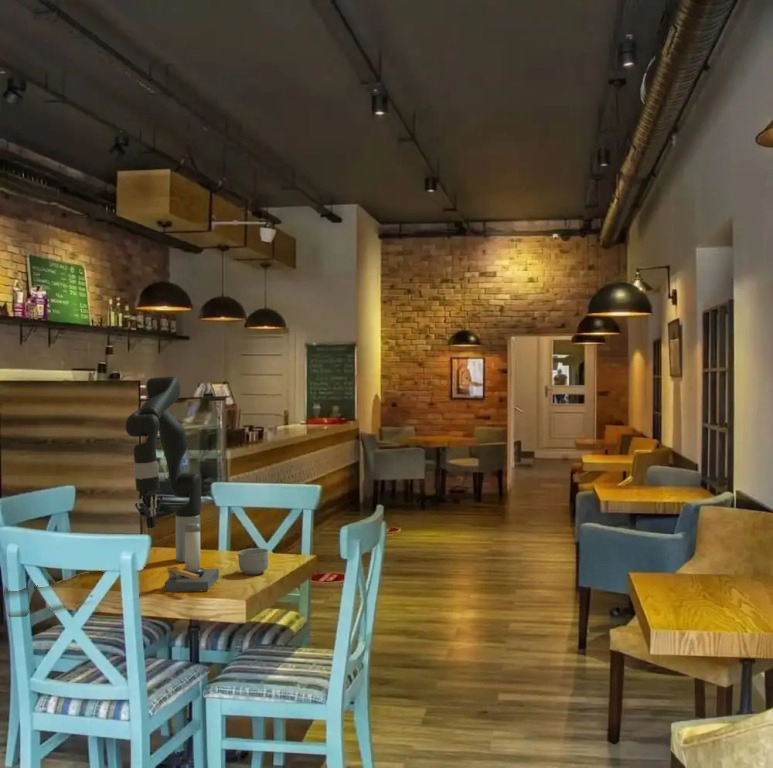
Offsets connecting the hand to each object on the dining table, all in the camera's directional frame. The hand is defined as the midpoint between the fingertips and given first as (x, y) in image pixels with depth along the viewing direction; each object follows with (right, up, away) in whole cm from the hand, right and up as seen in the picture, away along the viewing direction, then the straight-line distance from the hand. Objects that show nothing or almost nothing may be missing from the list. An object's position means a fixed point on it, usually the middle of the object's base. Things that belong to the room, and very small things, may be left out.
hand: (151, 527), depth 284 cm
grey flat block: (+12, -20, +7) cm, 25 cm away
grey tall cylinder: (+12, -20, +7) cm, 25 cm away
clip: (+11, -15, -2) cm, 19 cm away
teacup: (+30, -21, +26) cm, 44 cm away
